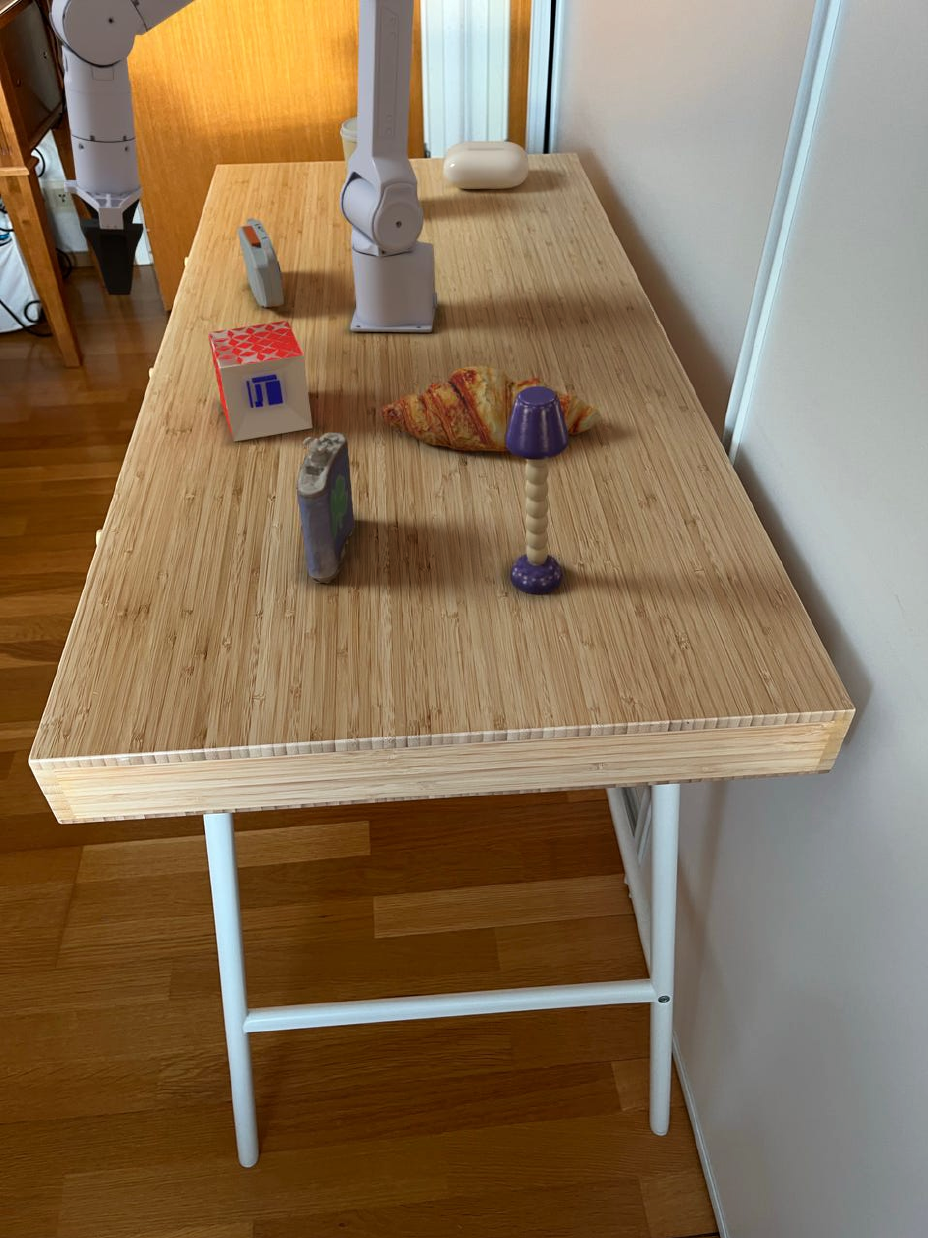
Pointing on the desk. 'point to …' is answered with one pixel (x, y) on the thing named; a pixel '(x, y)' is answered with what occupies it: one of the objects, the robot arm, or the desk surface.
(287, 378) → the white and red cube
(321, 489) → the flask
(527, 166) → the earbud case
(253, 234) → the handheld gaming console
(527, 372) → the desk surface
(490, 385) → the croissant
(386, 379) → the desk surface
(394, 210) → the robot arm
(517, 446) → the toy lamp
